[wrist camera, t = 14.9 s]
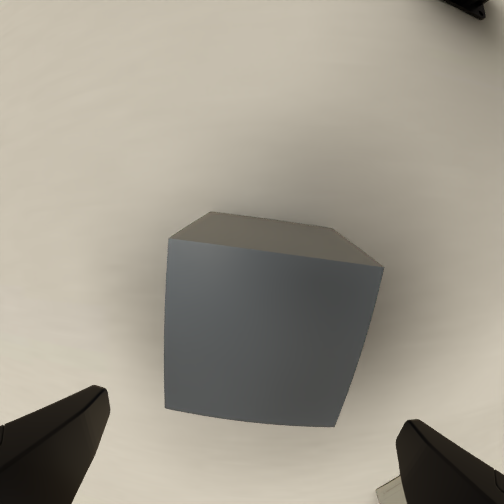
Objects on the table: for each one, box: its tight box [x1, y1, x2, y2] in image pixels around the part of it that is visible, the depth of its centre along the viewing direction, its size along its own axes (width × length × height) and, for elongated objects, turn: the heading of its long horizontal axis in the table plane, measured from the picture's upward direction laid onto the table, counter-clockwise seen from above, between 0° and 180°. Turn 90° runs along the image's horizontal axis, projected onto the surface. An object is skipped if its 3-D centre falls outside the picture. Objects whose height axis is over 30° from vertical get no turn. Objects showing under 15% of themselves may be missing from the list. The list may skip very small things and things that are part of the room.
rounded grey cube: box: [164, 212, 384, 427], centre depth 16 cm, size 8×8×9 cm
